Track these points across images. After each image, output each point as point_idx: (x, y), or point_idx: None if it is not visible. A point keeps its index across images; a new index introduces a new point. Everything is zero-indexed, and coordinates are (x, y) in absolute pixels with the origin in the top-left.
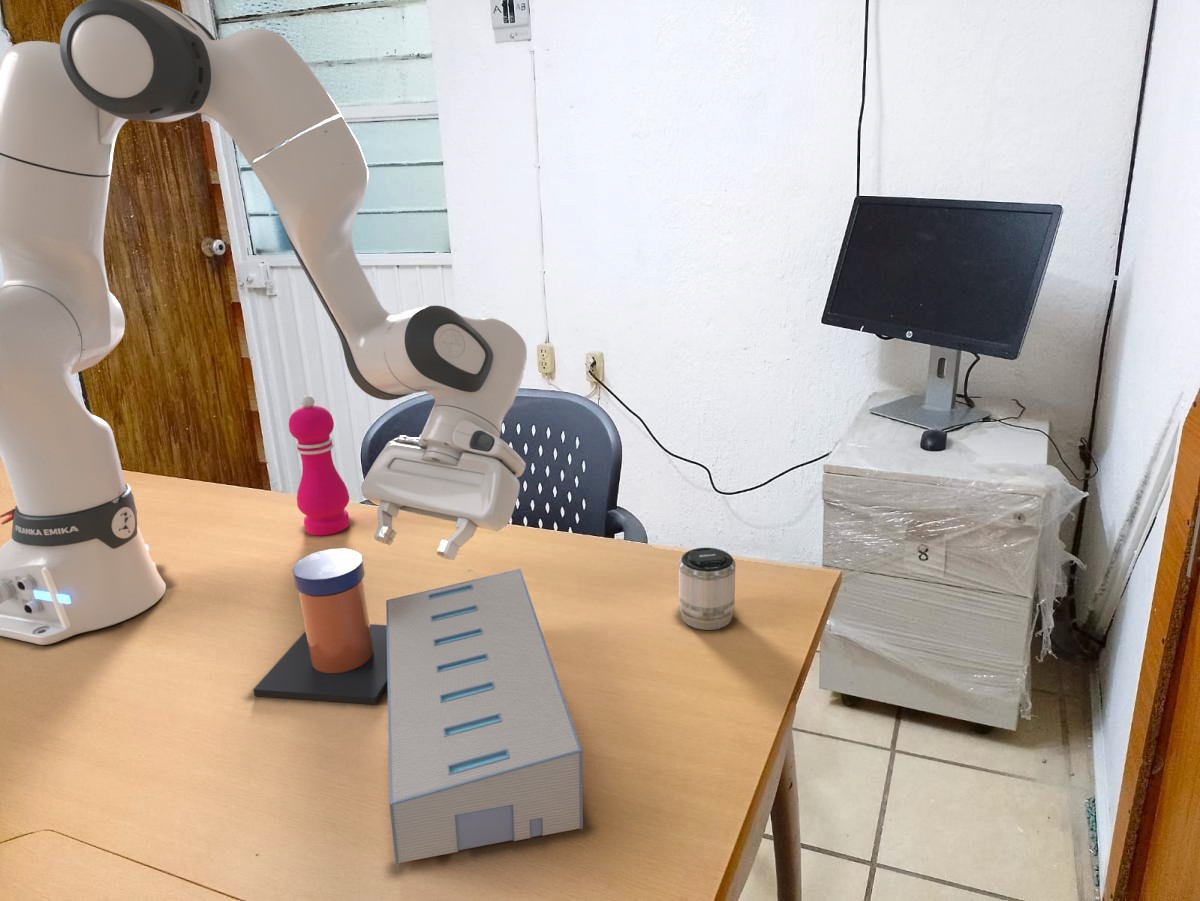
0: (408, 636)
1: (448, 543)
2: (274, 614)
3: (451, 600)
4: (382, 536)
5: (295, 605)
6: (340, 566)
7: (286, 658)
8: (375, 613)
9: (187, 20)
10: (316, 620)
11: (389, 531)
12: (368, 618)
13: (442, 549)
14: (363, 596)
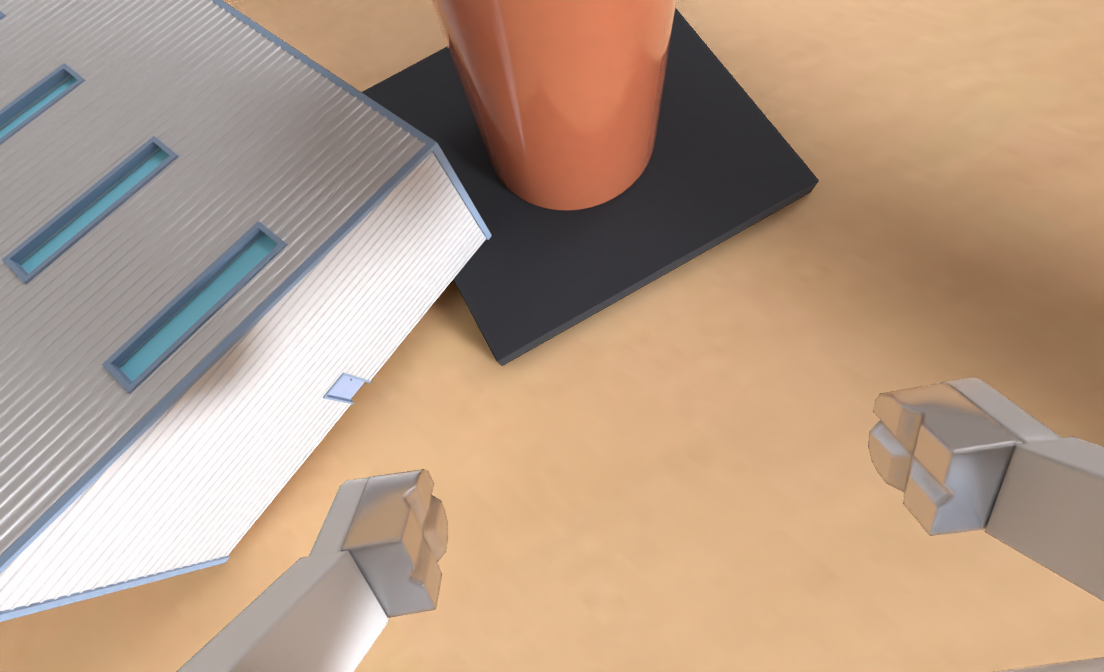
0: (184, 55)
1: (334, 533)
2: (1000, 156)
3: (158, 262)
4: (909, 395)
5: (1010, 224)
6: None
7: (687, 44)
8: (734, 353)
9: None
10: None
11: (925, 459)
12: (486, 119)
13: (380, 491)
14: (442, 20)
